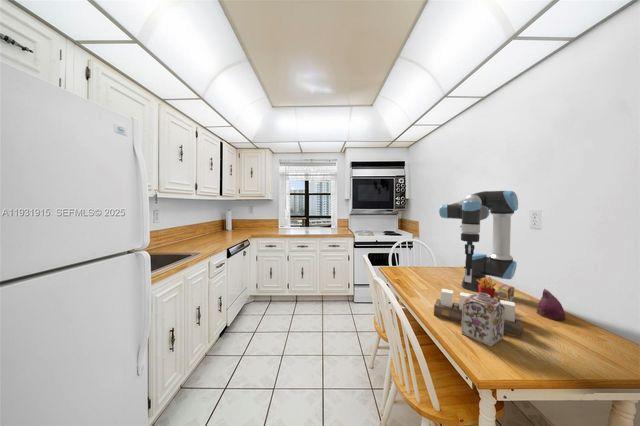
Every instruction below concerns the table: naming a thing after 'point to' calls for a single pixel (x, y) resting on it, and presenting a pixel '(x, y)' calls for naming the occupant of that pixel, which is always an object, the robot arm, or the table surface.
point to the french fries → (486, 287)
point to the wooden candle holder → (456, 315)
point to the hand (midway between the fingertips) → (467, 281)
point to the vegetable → (550, 307)
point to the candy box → (506, 293)
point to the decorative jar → (483, 318)
